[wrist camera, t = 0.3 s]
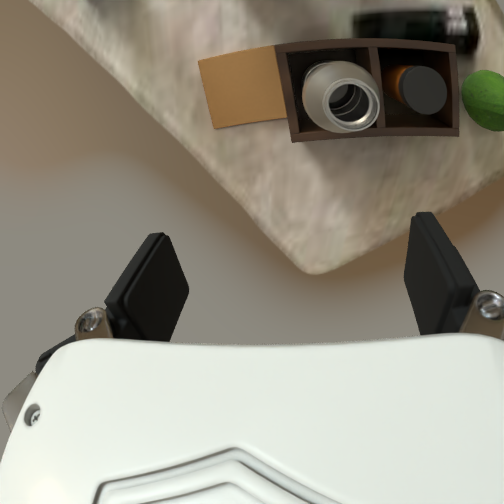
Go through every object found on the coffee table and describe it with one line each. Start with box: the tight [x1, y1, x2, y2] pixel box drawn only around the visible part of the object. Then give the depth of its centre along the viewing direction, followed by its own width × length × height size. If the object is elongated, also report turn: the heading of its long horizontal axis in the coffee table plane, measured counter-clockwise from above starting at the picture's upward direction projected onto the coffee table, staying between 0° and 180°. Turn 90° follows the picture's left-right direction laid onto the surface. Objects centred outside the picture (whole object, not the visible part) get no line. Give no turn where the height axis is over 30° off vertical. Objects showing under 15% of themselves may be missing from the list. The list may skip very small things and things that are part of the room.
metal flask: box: [301, 60, 380, 133], centre depth 25 cm, size 6×7×20 cm
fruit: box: [461, 70, 504, 132], centre depth 24 cm, size 8×8×12 cm
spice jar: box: [381, 64, 447, 114], centre depth 27 cm, size 5×5×10 cm
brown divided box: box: [274, 38, 459, 143], centre depth 29 cm, size 11×20×8 cm, turn 101°
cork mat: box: [198, 45, 287, 129], centre depth 35 cm, size 10×10×1 cm
